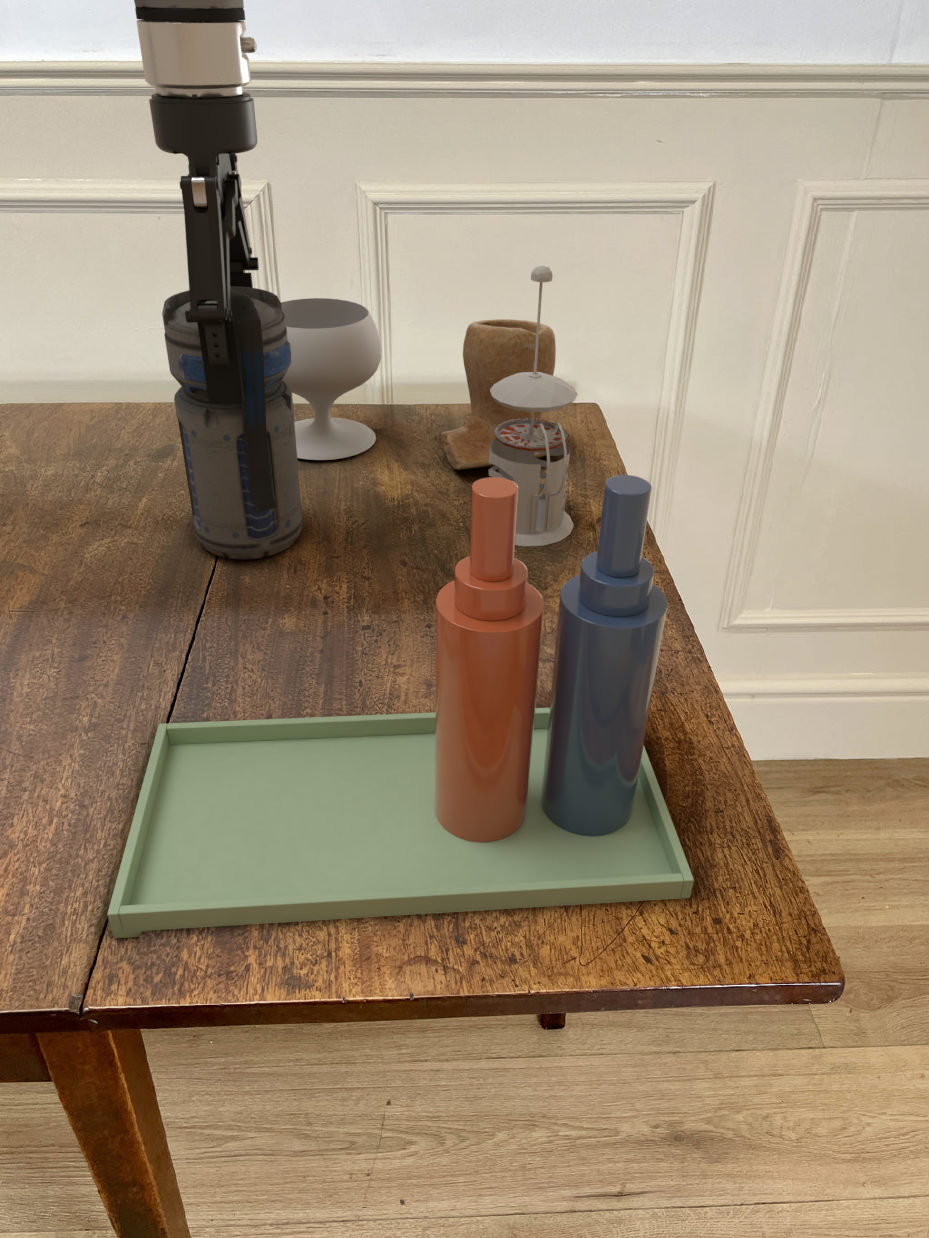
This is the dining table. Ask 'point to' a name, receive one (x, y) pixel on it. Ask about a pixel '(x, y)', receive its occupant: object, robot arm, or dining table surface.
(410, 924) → the dining table surface
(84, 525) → the dining table surface
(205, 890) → the tray
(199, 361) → the beverage bottle
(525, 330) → the brown suede boot
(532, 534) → the french press
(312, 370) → the chalice
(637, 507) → the slate-blue bottle
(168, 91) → the robot arm
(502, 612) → the terracotta bottle
